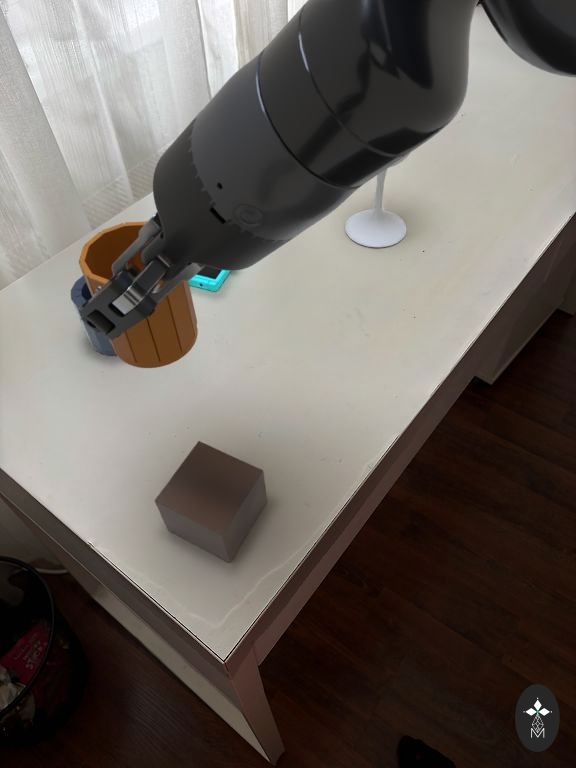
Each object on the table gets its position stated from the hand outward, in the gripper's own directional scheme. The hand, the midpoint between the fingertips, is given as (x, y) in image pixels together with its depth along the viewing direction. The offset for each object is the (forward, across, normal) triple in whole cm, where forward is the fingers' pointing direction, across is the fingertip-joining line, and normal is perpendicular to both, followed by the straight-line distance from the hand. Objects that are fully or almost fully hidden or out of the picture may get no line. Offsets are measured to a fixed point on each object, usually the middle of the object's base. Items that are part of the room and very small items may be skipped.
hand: (122, 287), depth 42 cm
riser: (+13, +4, +21) cm, 25 cm away
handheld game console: (+27, -32, +7) cm, 43 cm away
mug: (+29, -15, +5) cm, 33 cm away
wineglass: (+13, -45, +22) cm, 51 cm away
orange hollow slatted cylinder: (+2, 0, +4) cm, 5 cm away
